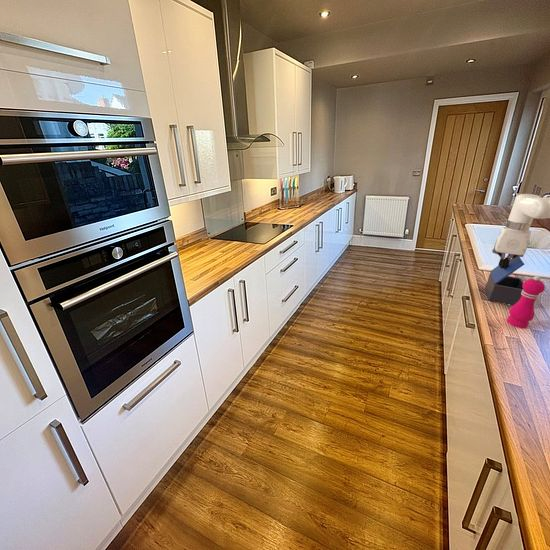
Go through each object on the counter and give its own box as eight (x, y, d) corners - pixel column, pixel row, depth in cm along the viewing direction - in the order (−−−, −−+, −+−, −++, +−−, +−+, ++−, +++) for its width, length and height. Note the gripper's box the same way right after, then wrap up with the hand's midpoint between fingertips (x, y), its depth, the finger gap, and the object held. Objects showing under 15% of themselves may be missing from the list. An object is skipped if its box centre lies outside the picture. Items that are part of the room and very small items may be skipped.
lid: (517, 253, 126) (515, 252, 126) (524, 264, 115) (523, 263, 115) (491, 272, 133) (489, 271, 133) (495, 284, 122) (494, 283, 122)
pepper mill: (532, 330, 106) (555, 282, 97) (508, 326, 108) (529, 278, 100) (524, 320, 112) (546, 273, 104) (502, 316, 114) (521, 270, 106)
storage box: (515, 293, 132) (521, 278, 128) (521, 307, 121) (529, 291, 117) (484, 288, 136) (490, 273, 133) (488, 300, 125) (494, 285, 122)
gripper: (497, 225, 116) (482, 267, 124) (544, 230, 110) (525, 274, 118) (494, 221, 123) (480, 261, 130) (538, 226, 116) (521, 267, 124)
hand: (502, 267), depth 124 cm, fingers closed
